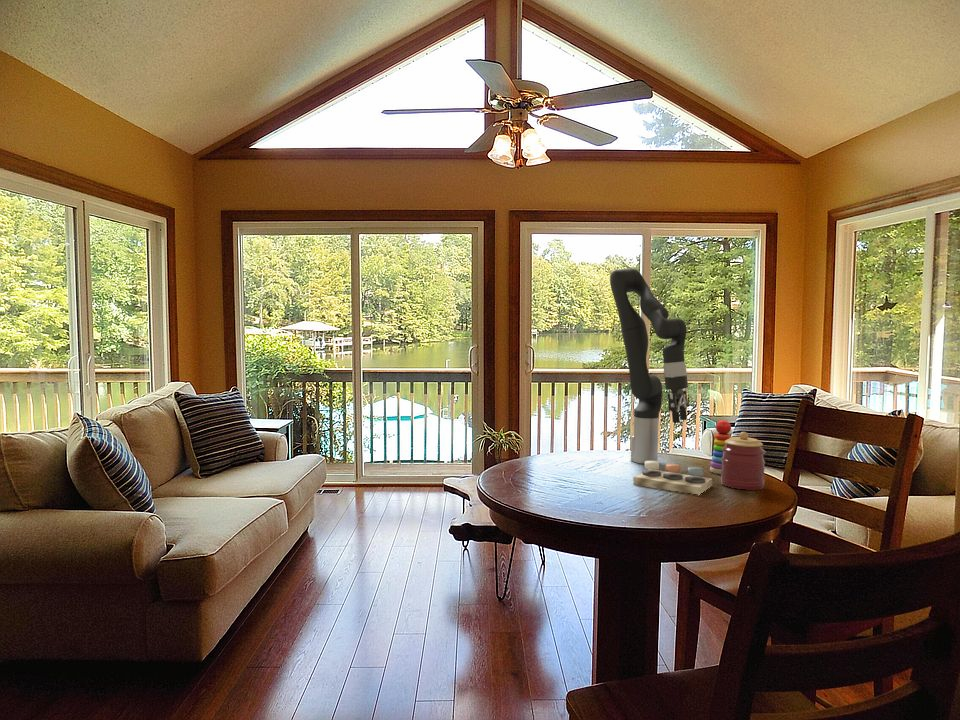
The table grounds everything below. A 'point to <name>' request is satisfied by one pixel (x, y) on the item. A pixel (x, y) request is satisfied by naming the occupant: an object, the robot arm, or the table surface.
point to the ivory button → (652, 465)
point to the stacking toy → (719, 445)
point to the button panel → (672, 481)
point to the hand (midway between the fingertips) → (680, 421)
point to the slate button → (695, 471)
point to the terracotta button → (673, 468)
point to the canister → (743, 463)
